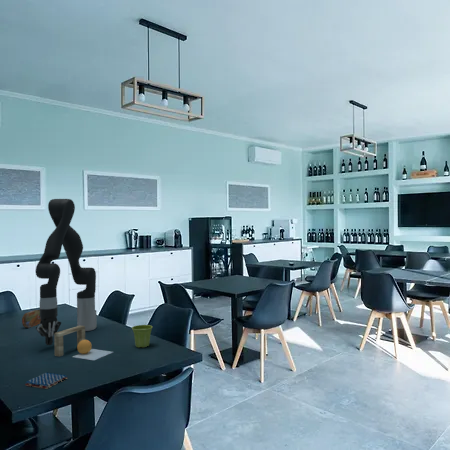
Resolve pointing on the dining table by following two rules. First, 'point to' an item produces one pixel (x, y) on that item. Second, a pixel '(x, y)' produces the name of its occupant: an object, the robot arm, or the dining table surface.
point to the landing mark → (93, 354)
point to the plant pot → (142, 335)
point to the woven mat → (46, 380)
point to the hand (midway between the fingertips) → (49, 344)
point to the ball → (84, 346)
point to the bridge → (59, 335)
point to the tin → (31, 319)
